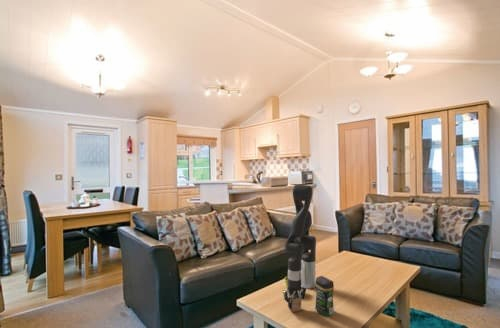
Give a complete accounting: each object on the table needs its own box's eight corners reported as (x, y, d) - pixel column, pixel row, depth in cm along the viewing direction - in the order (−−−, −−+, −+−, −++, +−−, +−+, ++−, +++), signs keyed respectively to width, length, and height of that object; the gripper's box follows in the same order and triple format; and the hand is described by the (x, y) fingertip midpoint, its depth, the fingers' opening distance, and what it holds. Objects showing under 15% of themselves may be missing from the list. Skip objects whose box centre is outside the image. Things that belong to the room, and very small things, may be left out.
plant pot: (292, 297, 165) (292, 283, 165) (281, 291, 172) (281, 278, 172) (302, 293, 170) (302, 279, 170) (292, 287, 178) (292, 274, 178)
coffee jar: (312, 309, 151) (312, 276, 151) (323, 305, 155) (323, 273, 155) (325, 318, 143) (325, 283, 143) (336, 314, 147) (336, 280, 147)
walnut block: (288, 307, 153) (288, 295, 153) (296, 305, 155) (296, 293, 154) (293, 312, 148) (293, 299, 148) (300, 310, 150) (300, 297, 150)
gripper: (301, 272, 157) (301, 301, 157) (279, 276, 152) (280, 306, 152) (309, 277, 150) (309, 308, 150) (286, 282, 145) (286, 313, 145)
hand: (294, 307), depth 151 cm, fingers closed on walnut block, 5 cm apart
